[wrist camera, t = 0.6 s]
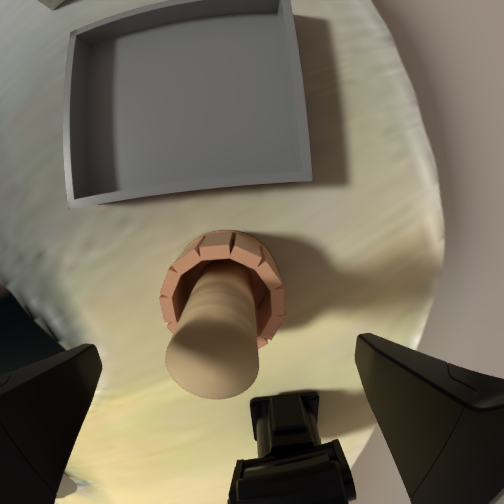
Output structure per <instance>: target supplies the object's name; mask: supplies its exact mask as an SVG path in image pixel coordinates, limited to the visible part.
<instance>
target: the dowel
mask: <svg viewBox="0 0 504 504" xmlns="http://www.w3.org/2000/svg"><path fill="white" fill-rule="evenodd" d="M165 360H166V367H167V369H168V372H169V374H170V376H171V377H172V378H173V380H174V381H175V382H176V383H177V384H178V385H179V386H180V387H181V388H183V389H184V390H186V391H187V392H189V393H191V394H193V395H196V396H199V397H202V398H207V399H226V398H231V397H234V396H237V395H239V394H241V393H243V392H244V391H246V390H247V389H248V388H249V387H250V386H251V385H252V384H253V383H254V381H255V379H256V378H257V375H258V371H259V357H258V344H257V330H256V317H255V303H254V289H253V279H252V275H251V273H250V271H249V270H248V268H247V267H246V266H245V265H243V264H241V263H239V262H237V261H234V260H232V259H230V258H227V259H215V260H213V261H211V262H209V263H208V264H207V265H206V266H205V267H204V268H203V269H202V271H201V273H200V275H199V277H198V280H197V282H196V284H195V286H194V288H193V291H192V293H191V295H190V297H189V299H188V302H187V304H186V306H185V308H184V311H183V313H182V315H181V318H180V320H179V322H178V324H177V327H176V329H175V331H174V334H173V336H172V338H171V341H170V343H169V345H168V348H167V351H166V356H165Z"/></svg>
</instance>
